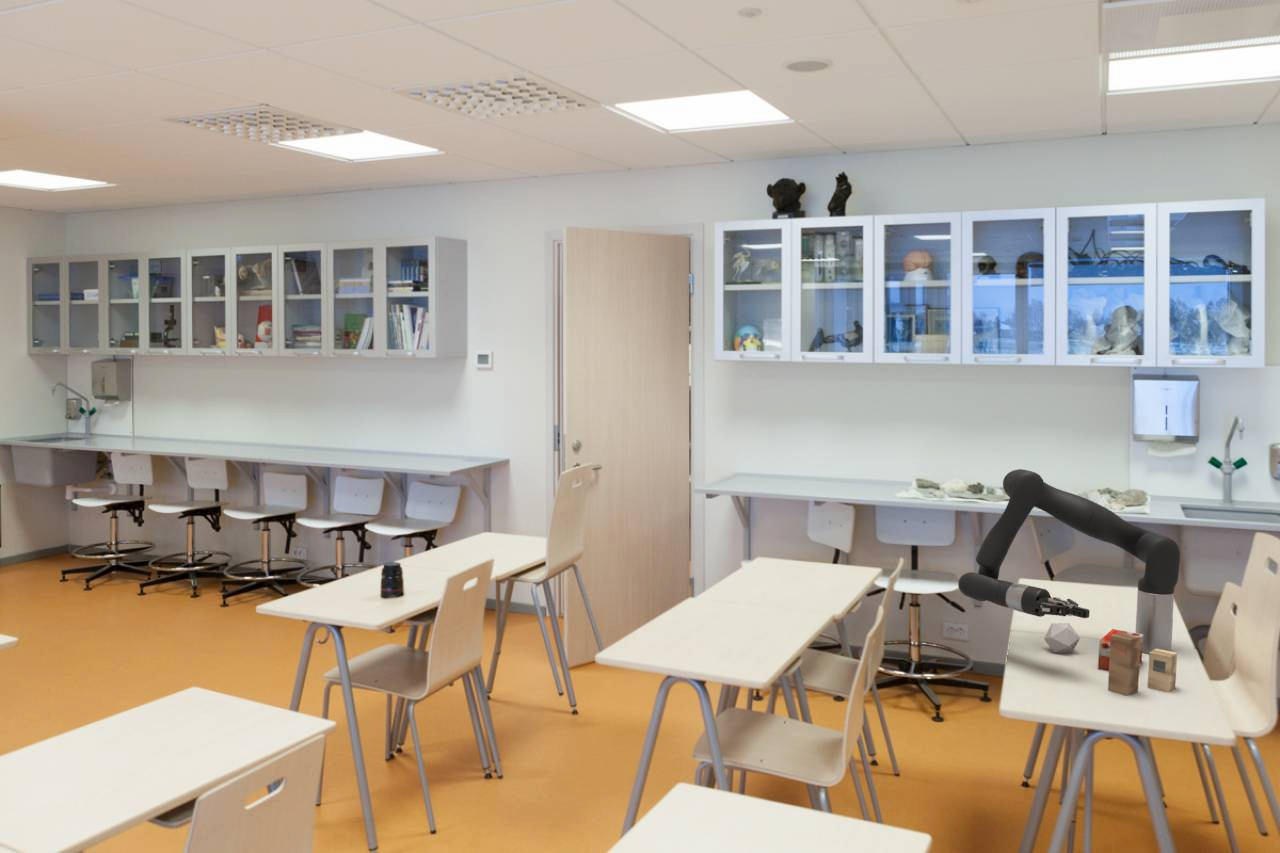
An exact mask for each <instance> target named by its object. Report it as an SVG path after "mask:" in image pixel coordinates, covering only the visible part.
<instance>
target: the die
mask: <svg viewBox="0 0 1280 853" xmlns="http://www.w3.org/2000/svg"><path fill="white" fill-rule="evenodd" d="M1080 639H1081V636H1080V635H1079V634H1078V633H1077V631H1076V630H1075V629H1074V628H1073V626H1072V625H1071V624H1070V623H1060V622H1059V623H1055V622H1054V623H1053V622H1052V623H1050V626H1049V627H1048V630H1047V632H1046V634H1045V636H1044V638H1043V640H1044V641H1045V642H1046V644H1047V645H1048V646H1049V648H1050V649H1051V651H1052V652H1053V653H1054V654H1073V653H1074V651H1075V648H1076V647H1077V645H1078V644H1079V641H1080Z"/></svg>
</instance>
